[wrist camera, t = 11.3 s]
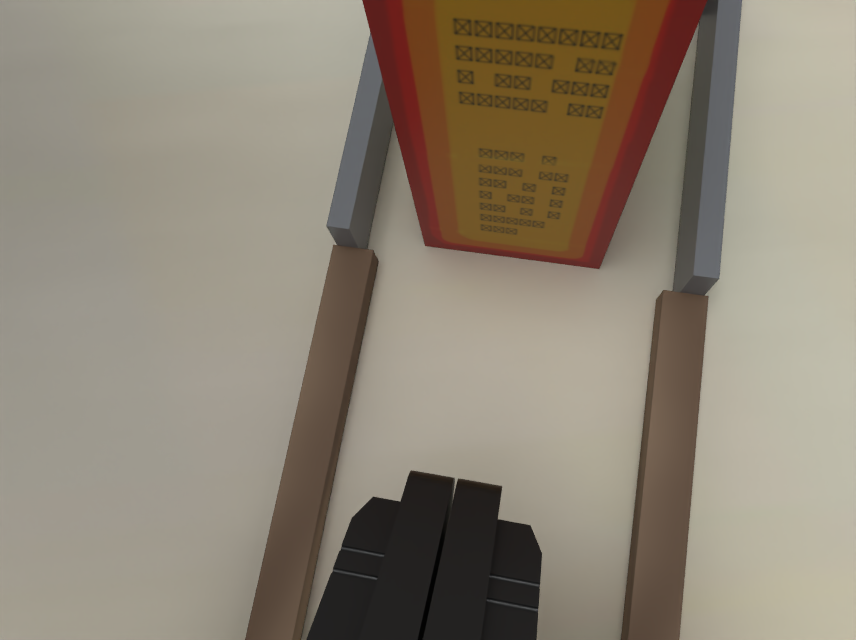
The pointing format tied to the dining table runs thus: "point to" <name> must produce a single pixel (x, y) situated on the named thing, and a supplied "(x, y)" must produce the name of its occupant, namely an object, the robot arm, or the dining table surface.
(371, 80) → the tray
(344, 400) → the slot rails
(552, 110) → the baking soda box
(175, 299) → the dining table surface
